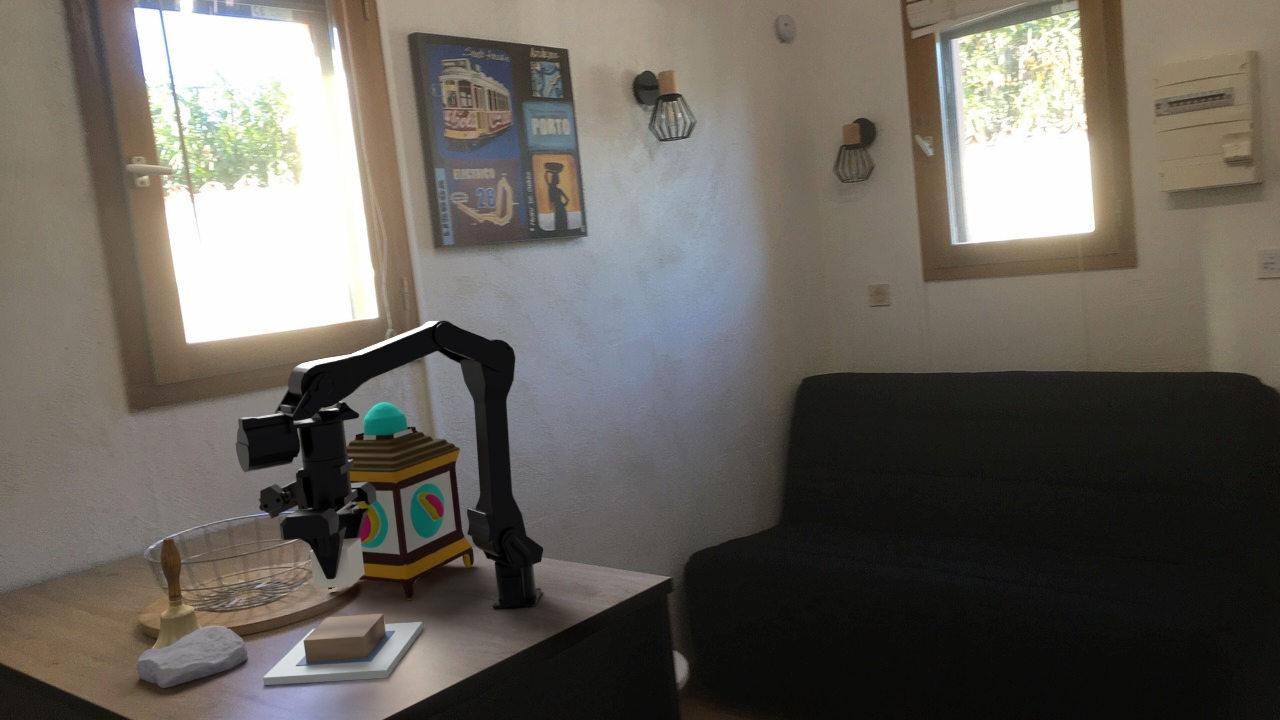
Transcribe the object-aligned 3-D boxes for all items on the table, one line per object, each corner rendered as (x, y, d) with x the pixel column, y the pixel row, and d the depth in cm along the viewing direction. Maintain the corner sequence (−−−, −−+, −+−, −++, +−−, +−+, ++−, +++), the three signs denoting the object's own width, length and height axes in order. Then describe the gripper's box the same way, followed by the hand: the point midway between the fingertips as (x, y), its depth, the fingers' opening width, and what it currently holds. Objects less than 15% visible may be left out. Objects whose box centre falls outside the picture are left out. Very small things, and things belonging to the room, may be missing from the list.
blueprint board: (313, 635, 137) (310, 608, 137) (423, 628, 136) (419, 601, 136) (264, 685, 121) (259, 654, 121) (387, 677, 120) (383, 647, 120)
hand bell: (153, 643, 140) (138, 537, 138) (215, 631, 143) (201, 527, 141) (146, 664, 132) (130, 551, 131) (211, 650, 135) (196, 540, 134)
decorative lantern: (396, 557, 173) (377, 393, 170) (486, 564, 164) (468, 391, 161) (314, 596, 155) (291, 413, 152) (411, 605, 146) (388, 412, 143)
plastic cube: (328, 575, 130) (324, 540, 130) (364, 573, 130) (360, 537, 130) (314, 588, 125) (309, 551, 125) (351, 586, 125) (347, 548, 125)
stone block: (257, 671, 131) (219, 644, 137) (255, 640, 130) (217, 614, 136) (171, 710, 122) (134, 680, 128) (168, 677, 121) (130, 648, 127)
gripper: (294, 447, 136) (307, 554, 137) (231, 477, 117) (247, 600, 119) (371, 442, 135) (383, 549, 137) (320, 471, 117) (335, 595, 118)
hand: (338, 572), depth 128 cm, fingers closed on plastic cube, 5 cm apart
